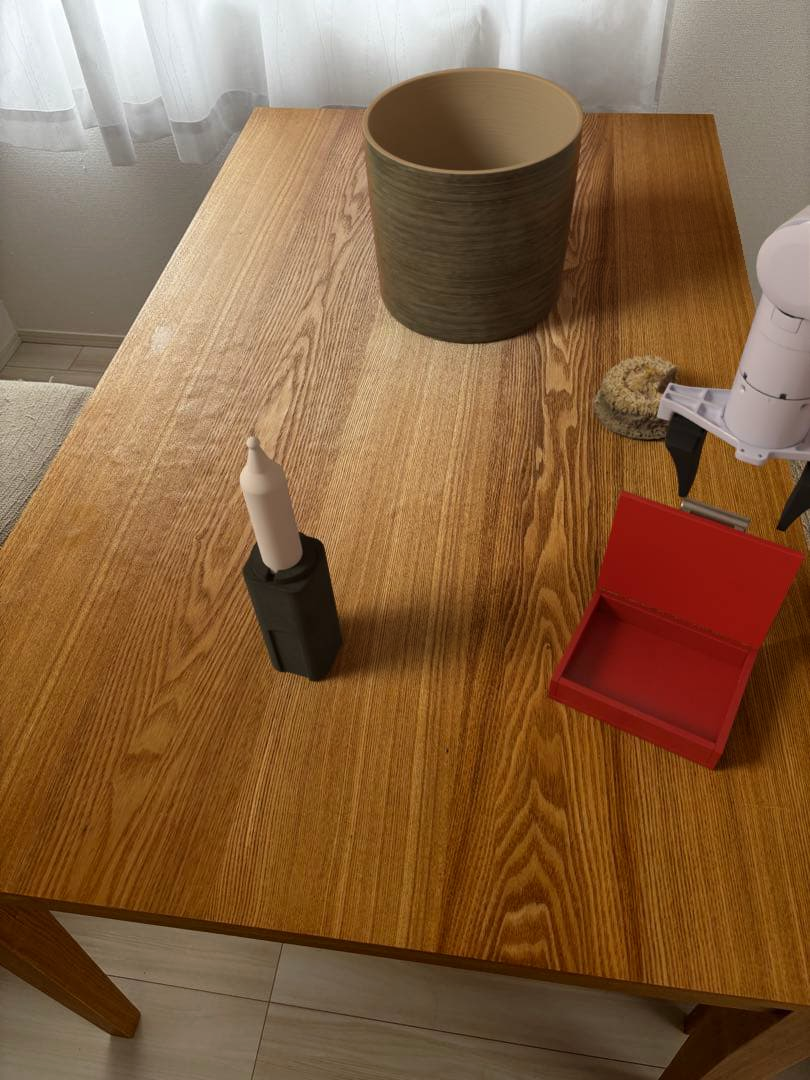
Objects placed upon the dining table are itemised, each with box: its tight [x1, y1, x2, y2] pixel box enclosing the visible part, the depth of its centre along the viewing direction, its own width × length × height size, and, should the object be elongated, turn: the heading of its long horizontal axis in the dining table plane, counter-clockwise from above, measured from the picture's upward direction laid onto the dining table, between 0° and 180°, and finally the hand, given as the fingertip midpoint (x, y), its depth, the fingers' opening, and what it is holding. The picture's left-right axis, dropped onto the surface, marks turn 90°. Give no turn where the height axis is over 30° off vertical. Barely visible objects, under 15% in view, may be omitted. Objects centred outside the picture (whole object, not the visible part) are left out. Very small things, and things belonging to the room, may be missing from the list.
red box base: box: [547, 586, 759, 771], centre depth 68 cm, size 10×13×3 cm
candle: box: [239, 435, 344, 682], centre depth 63 cm, size 5×5×25 cm
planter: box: [361, 66, 585, 344], centre depth 95 cm, size 22×22×20 cm
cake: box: [592, 354, 679, 440], centre depth 87 cm, size 10×10×5 cm
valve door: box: [596, 489, 806, 650], centre depth 66 cm, size 10×13×4 cm
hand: (733, 505), depth 68 cm, fingers open, 7 cm apart
